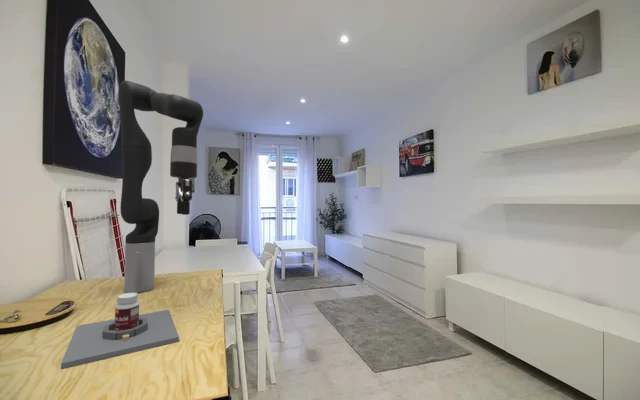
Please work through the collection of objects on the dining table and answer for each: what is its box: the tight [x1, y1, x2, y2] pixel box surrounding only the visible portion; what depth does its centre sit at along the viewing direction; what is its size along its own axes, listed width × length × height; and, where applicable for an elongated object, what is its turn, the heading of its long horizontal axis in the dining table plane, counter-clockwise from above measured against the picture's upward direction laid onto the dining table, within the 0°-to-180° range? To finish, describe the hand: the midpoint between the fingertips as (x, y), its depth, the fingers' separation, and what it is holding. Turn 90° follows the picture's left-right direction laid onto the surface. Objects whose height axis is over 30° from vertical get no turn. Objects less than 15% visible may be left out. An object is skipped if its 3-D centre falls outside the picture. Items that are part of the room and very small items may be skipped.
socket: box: [60, 309, 180, 369], centre depth 67 cm, size 20×20×2 cm
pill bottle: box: [114, 292, 140, 331], centre depth 67 cm, size 5×5×8 cm
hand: (182, 214), depth 88 cm, fingers open, 8 cm apart
